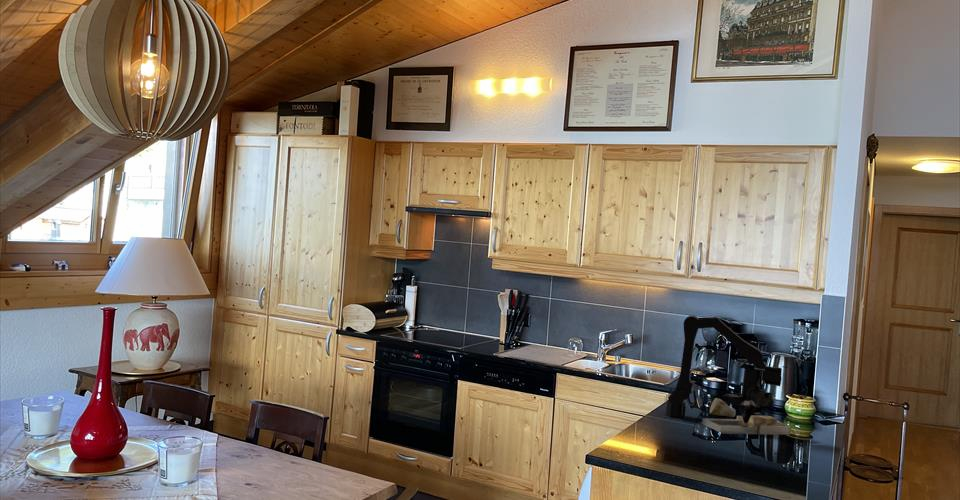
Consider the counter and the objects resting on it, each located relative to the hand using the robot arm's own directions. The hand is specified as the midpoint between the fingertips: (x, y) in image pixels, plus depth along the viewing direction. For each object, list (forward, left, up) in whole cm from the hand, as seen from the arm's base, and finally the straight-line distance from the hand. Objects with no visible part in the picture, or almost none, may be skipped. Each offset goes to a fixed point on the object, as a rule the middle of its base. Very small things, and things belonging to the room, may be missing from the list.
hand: (745, 422), depth 282 cm
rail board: (0, 0, -3) cm, 3 cm away
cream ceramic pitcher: (+5, +20, -3) cm, 21 cm away
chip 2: (+10, 0, -2) cm, 10 cm away
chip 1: (+5, 0, -2) cm, 6 cm away
